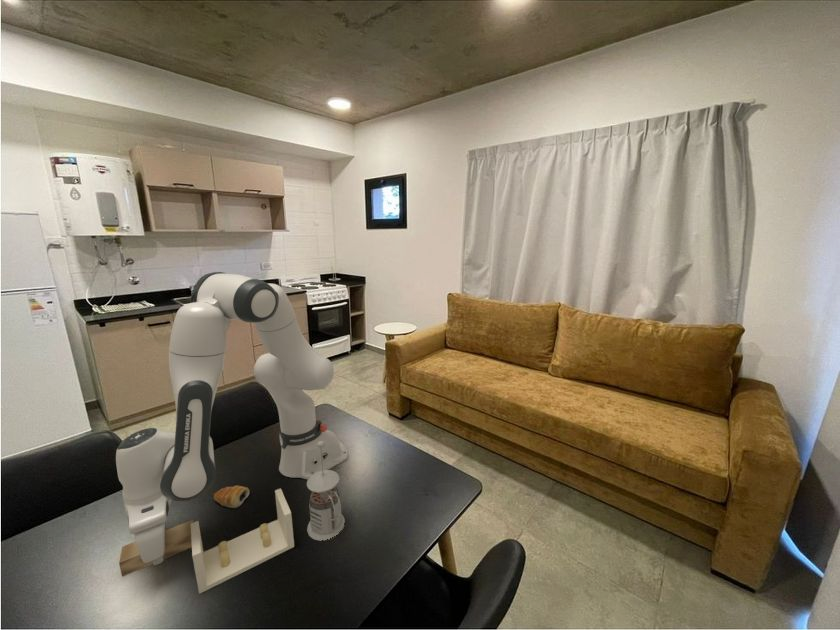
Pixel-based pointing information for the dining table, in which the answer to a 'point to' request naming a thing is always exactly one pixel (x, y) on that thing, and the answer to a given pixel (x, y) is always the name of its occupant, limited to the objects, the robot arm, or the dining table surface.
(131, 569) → the shelf board
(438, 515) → the dining table surface
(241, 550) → the peg frame
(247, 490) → the pastry
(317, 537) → the french press
